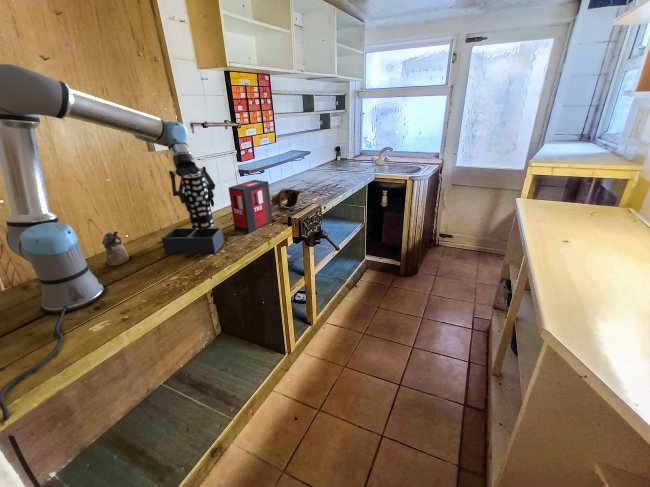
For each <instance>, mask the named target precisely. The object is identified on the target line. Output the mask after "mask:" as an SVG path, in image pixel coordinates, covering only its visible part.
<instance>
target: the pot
mask: <svg viewBox="0 0 650 487" xmlns="http://www.w3.org/2000/svg"><path fill="white" fill-rule="evenodd" d="M302 191H303V189H300V190H299V189H298V190H297V189H292V188H289V187H287V188H286V187H285V188H282V189H280V190H279V192H278V193H276V194H275V195H273V196H272V197H271V205H272V204H273V205H276V206H277V207H279V208H281V207H282V208H285V209H291V208H294V207H295V206H297V204H298V201H299V196H300V195H301V193H302ZM283 201H286V204H283Z"/></svg>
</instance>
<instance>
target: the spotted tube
mask: <svg viewBox="0 0 650 487" xmlns="http://www.w3.org/2000/svg"><path fill="white" fill-rule="evenodd" d="M181 180H182V184H183V193H185V196H186V199H187V201H188V204H189V207H190V211H187V212H188V216H189V220H190V225H191V228H193V229H206V228H213V226H214V225H215V223H214V222H215V221H214V217H213V211H212V206H211V203H210V200H209V195H208V190H207V185H206V182H207V181H206V179H205V174H201V172H198V173H195V174H187V175H183V176H181V177H180V181H181Z"/></svg>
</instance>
